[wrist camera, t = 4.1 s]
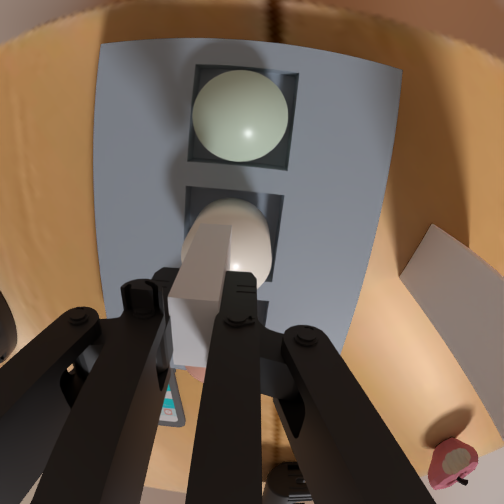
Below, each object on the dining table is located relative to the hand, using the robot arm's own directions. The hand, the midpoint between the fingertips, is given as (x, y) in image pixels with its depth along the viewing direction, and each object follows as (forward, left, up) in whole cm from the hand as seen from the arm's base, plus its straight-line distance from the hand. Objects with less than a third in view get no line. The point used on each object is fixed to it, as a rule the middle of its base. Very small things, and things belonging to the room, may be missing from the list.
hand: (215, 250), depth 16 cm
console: (0, -2, -10) cm, 10 cm away
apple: (+39, -38, -10) cm, 55 cm away
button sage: (0, +6, -8) cm, 10 cm away
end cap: (+11, -43, -10) cm, 45 cm away
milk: (+19, -4, -10) cm, 22 cm away
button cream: (0, -2, -6) cm, 7 cm away
